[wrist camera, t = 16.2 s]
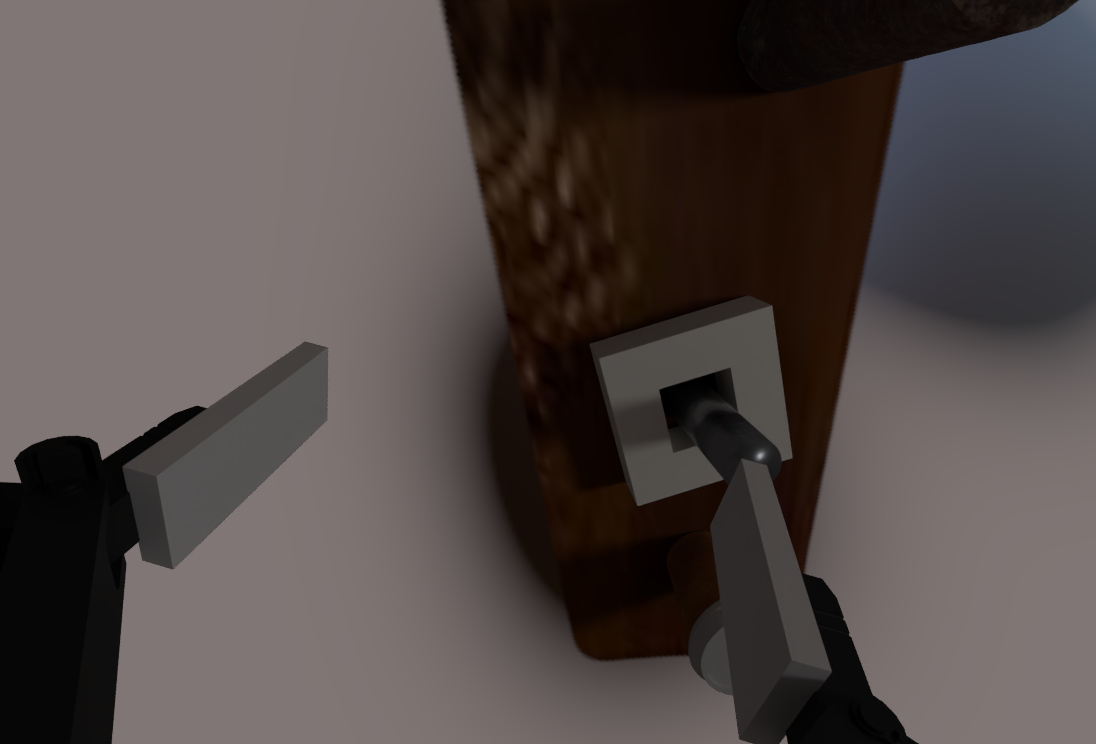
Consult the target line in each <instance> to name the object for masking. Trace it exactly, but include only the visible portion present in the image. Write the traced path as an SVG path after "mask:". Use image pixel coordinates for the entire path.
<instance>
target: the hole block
mask: <svg viewBox="0 0 1096 744" xmlns="http://www.w3.org/2000/svg"><path fill="white" fill-rule="evenodd" d="M589 345H590V349H591V352H592V356H593V360H594V364H595V367H596V371H597V375H598V379H599V382H600V386H601V390H602V394H603V397H604V401H605V405H606V409H607V412H608V416H609V420H610V424H611V427H612V431H613V435H614V439H615V442H616V446H617V450H618V454H619V457H620V461H621V465H622V469H623V472H624V476H625V480H626V483H627V485H628V487H629V489H630V491H631V493H632V495H633V497H634V500H635V502H636V504H637V506H640V505H643V504H646V503H649V502H653V501H656V500H659V499H662V498H666V497H669V496H672V495H675V494H678V493H682V492H685V491H688V490H691V489H694V488H698V487H701V486H704V485H707V484H710V483H714V482H717V481H720V480H723V478H722V477H721V475H720V474H719V473H718V472H717V471H716V469H715V468H714V467H713V466H712V464H711V463H710V462H709V461H708V460H707V458H706V457H705V456H704V455H703V453H702V452H701V451H700V450H699V449H698V447H697V446H696V445H695V444H694V442H693V441H692V440H691V439H690V438H689V436H688V435H687V434H686V433H685V431H684V430H683V429H682V428H681V427H680V426H677V427H674V428H671V429H668V428H667V423H666V419H665V414H664V410H663V406H662V401H661V397H660V392H659V389H662V388H665V387H669V386H672V385H675V384H678V383H681V382H685V381H688V380H691V379H694V378H698V377H701V376H704V375H707V374H711V373H715V379H716V384H717V390H718V395H719V396H721V397H722V398H723V399H724V400H725V401H726V402H727V403H728V404H729V405H731V406H732V407H733V408H734V409H735V410H736V411H737V412H738V413H739V414H741V415H742V416H743V417H744V418H745V419H746V420H747V421H748V422H750V423H751V424H752V425H753V426H754V427H755V428H756V429H757V430H758V431H760V432H761V433H762V434H763V435H764V436H765V437H766V438H767V439H768V440H770V441H771V442H772V443H773V444H774V445H775V446H776V447H777V448H778V450H779V451H780V454H781V459H782V461H784V460H787V459H791V458H792V451H791V444H790V436H789V429H788V421H787V414H786V406H785V399H784V391H783V384H782V376H781V369H780V362H779V354H778V347H777V339H776V332H775V324H774V317H773V309H772V305H770V304H767V303H765V302H763V301H760V300H758V299H756V298H753V297H751V296H749V295H747V296H744V297H741V298H737V299H734V300H731V301H728V302H724V303H721V304H718V305H715V306H711V307H708V308H705V309H702V310H698V311H695V312H692V313H689V314H685V315H682V316H679V317H676V318H672V319H669V320H666V321H663V322H659V323H656V324H653V325H650V326H646V327H643V328H640V329H636V330H633V331H630V332H627V333H623V334H620V335H617V336H614V337H610V338H607V339H604V340H601V341H597V342H594V343H591V344H589Z"/></svg>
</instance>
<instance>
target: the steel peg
mask: <svg viewBox="0 0 1096 744" xmlns="http://www.w3.org/2000/svg"><path fill="white" fill-rule="evenodd" d="M661 400H662V403H663V405H664V407H665V408H666V409H667V411H668V412H669V413H670V414H671V416H672V417H673V418H674V419H675V420H676V422H677V423H678V424H679V425H680V427H681V428H682V429H683V430H684V431H685V433H686V434H687V435H688V436H689V438H690V439H691V440H692V441H693V442H694V444H695V445H696V446H697V447H698V449H699V450H700V451H701V452H702V453H703V455H704V456H705V457H706V458H707V460H708V461H709V462H710V463H711V464H712V466H713V467H714V468H715V469H716V471H717V472H718V473H719V474H720V475H721V477H722V478H723V479H724V480H725V482H726V483H727V484H728V485H729V484H730V482H731V480H732V478H733V476H734V473H735V471H736V469H737V467H738V465H739V463H740V461H741V458H742V459H745V460H749V461H753V462H757V463H760V464H764V465H767V467H768V470H769V474H770V477H771V480H772V482H773V481H774V479H775V478H776V477H777V475H778V473H779V471H780V468H781V463H782V459H781V454H780V451H779V450H778V448H777V447H776V446H775V445H774V444H773V443H772V442H771V441H770V440H768V439H767V438H766V437H765V436H764V435H763V434H762V433H761V432H760V431H758V430H757V429H756V428H755V427H754V426H753V425H752V424H751V423H750V422H748V421H747V420H746V419H745V418H744V417H743V416H742V415H741V414H739V413H738V412H737V411H736V410H735V409H734V408H733V407H732V406H731V405H729V404H728V403H727V402H726V401H725V400H724V399H723V398H722V397H721V396H719V395H718V394H717V393H716V392H715V391H714V390H713V389H712V388H711V387H709V386H708V385H707V384H706V383H705V382H704V381H703V380H702V379H700V378H699V377H698V378H694V379H691V380H688V381H685V382H681V383H678V384H675V385H672V386H669V387H665V388H663V389H662V392H661Z"/></svg>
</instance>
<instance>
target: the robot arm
mask: <svg viewBox="0 0 1096 744" xmlns="http://www.w3.org/2000/svg"><path fill="white" fill-rule="evenodd" d="M327 392H328V348H327V347H324V346H320V345H316V344H312V343H309V342H304V343H302V344H301V345H299V346H298V347H296V348H295V349H293V350H292V351H291V352H289V353H288V354H286V355H285V356H283V357H282V358H280V359H279V360H277V361H276V362H274V363H273V364H272V365H270V366H269V367H267V368H266V369H265V370H263V371H261V372H260V373H258V374H257V375H255V376H254V377H252V378H251V379H250V380H248V381H247V382H245V383H244V384H242V385H241V386H239V387H238V388H236V389H235V390H233V391H232V392H230V393H229V394H228V395H226V396H225V397H223V398H222V399H221V400H219V401H217V402H216V403H215V404H213V405H211V406H210V407H209V408H204V407H200V406H195V407H192V408H189V409H186V410H183V411H180V412H177V413H175V414H173V415H172V416H170V417H168V418H167V419H165V420H164V421H162V422H161V423H159V424H158V426H157V427H153V428H151V429H150V430H149V431H147V432H145V433H144V435H143V436H139V437H138V438H136V439H134V440H133V441H131V442H130V443H128V444H127V445H125V446H124V447H122V448H121V449H119V450H118V451H116V452H114V453H113V454H111V455H110V456H108V457H107V458H105V459H104V460H102V459H101V455H100V450H99V447H98V443H97V442H95V441H94V440H92V439H90V438H86V437H81V436H61V437H57V438H51V439H46V440H44V441H41V442H39V443H36V444H33V445H31V446H29V447H28V448H26V449H25V450H23V451H22V452H20V453H19V455H18V456H17V457H16V459H15V460H14V462H15V465H16V468H17V471H18V474H19V477H20V480H21V483H7V482H5V483H4V482H0V744H111V743H112V732H113V720H114V708H115V695H116V683H117V671H118V659H119V647H120V635H121V623H122V610H123V599H124V587H125V574H126V560H125V557H124V554H125V553H126V552H127V551H128V550H130V549H131V548H132V547H133V546H134V545H135V544H137V543H138V542H139V547H140V551H141V556H142V560H143V561H146V562H150V563H153V564H156V565H160V566H163V567H166V568H170V569H174V568H175V567H176V566H177V565H178V564H179V563H180V562H181V561H182V560H184V558H186V557H187V556H188V555H189V554H190V553H191V552H192V551H193V550H194V549H195V548H196V546H198V545H199V544H200V543H201V542H202V541H203V540H204V539H205V538H206V537H207V536H208V535H209V534H210V533H211V532H212V531H213V530H214V529H215V528H216V527H218V526H219V525H220V524H221V523H222V522H223V520H225V519H226V518H227V517H228V516H229V515H230V514H231V513H232V512H233V511H234V510H235V509H236V508H237V507H238V506H239V505H240V504H241V503H242V502H243V501H244V500H245V499H246V498H247V497H248V496H249V495H250V494H251V493H253V491H255V490H256V489H257V487H259V486H260V485H261V484H262V483H263V482H264V481H265V480H266V479H267V478H268V477H269V476H270V475H271V474H272V473H273V472H274V471H275V470H276V469H277V468H278V467H279V466H280V465H281V464H282V463H283V462H284V461H285V460H286V459H287V458H289V457H290V456H291V455H292V454H293V453H294V452H295V451H296V450H297V449H298V448H299V447H300V446H301V445H302V444H303V443H304V442H305V441H306V440H307V439H308V438H309V437H310V436H311V435H312V434H313V433H314V432H315V431H316V430H317V429H318V428H319V427H320V426H322V425H323V424H324V422H326V421H327V396H328V394H327ZM710 528H711V535H712V542H713V550H714V557H715V564H716V572H717V579H718V587H719V594H720V601H721V609H722V616H723V623H724V631H725V638H726V646H727V653H728V660H729V668H730V675H731V682H732V690H733V697H734V704H735V712H736V719H737V726H738V734H739V739H740V740H743V741H746V742H750V743H753V744H779V743H780V742H781V740H782V739H783V738H784V737H785V735H786V736H787V741H788V744H918V743H917V742H915V741H914V740H912V739H911V738H909V737H908V736H906V733H905V729H904V727H903V726H902V724H901V723H900V721H899V720H898V718H897V716H896V715H895V714H894V713H893V712H892V711H891V710H890V709H889V708H888V707H887V706H886V705H885V704H884V703H883V702H882V701H880V700H879V699H878V698H876V697H875V696H873V695H872V692H871V689H870V686H869V684H868V681H867V679H866V676H865V673H864V670H863V668H862V665H861V662H860V660H859V657H858V654H857V651H856V649H855V646H854V643H853V641H852V638H851V637H850V636H849V630H848V627H847V625H846V622H845V621H844V620H843V618H844V617H843V614H842V611H841V608H840V606H839V603H838V600H837V598H836V596H835V595H834V594H833V593H832V591H831V590H830V589H829V587H828V586H827V585H826V583H825V582H824V581H823V579H821V578H817V577H814V576H810V575H807V574H803V573H801V572H800V569H799V566H798V563H797V559H796V556H795V553H794V550H793V547H792V544H791V540H790V537H789V534H788V531H787V528H786V524H785V521H784V518H783V515H782V512H781V509H780V505H779V502H778V499H777V496H776V493H775V490H774V486H773V483H772V480H771V477H770V474H769V470H768V467H767V465H764V464H760V463H757V462H753V461H749V460H745V459H742V458H741V461H740V463H739V465H738V467H737V469H736V471H735V473H734V476H733V478H732V480H731V482H730V484H729V486H728V489H727V491H726V493H725V495H724V497H723V499H722V502H721V504H720V506H719V508H718V510H717V512H716V515H715V517H714V519H713V521H712V523H711V525H710Z"/></svg>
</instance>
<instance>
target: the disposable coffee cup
mask: <svg viewBox="0 0 1096 744" xmlns="http://www.w3.org/2000/svg"><path fill="white" fill-rule="evenodd" d="M666 563H667V568H668V571H669V575H670V578H671V582H672V585H673V588H674V592H675V596H676V599H677V602H678V606H679V609H680V613H681V616H682V619H683V623H684V626H685V630H686V633H687V636H688V640H689V658H690V662H691V665H692V667H693V668H694V670H695V672H696V673H697V674H698V675H699V676H700V677H701V678H703V679H704V680H706V682H707V683H708V684H709V685H710V686H711V687H713V688H714V689H715V690H717V691H719V692H722V693H724V694H728V695H733V690H732V682H731V675H730V668H729V660H728V653H727V646H726V638H725V631H724V623H723V616H722V609H721V601H720V594H719V587H718V579H717V572H716V564H715V557H714V550H713V542H712V535H711V532H708V531H697V532H692V533H689V534H687V535H685V536H683V537H681V538H680V539H678V540H677V541H676V542H675V543H674V544H673V546H672V547H671V548H670V550H669V552H668V555H667V561H666Z"/></svg>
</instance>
